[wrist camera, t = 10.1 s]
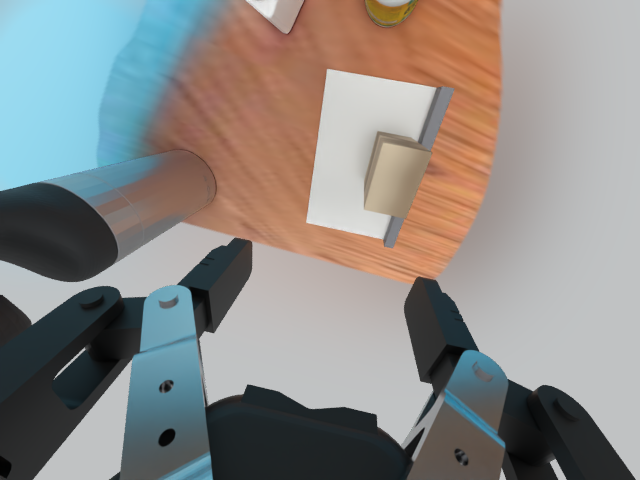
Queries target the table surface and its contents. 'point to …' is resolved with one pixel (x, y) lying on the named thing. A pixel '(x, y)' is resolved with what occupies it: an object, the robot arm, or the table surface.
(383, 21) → the supplement bottle
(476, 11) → the table surface
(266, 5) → the pepper shaker
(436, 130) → the shelf
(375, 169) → the tea box
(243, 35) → the table surface
